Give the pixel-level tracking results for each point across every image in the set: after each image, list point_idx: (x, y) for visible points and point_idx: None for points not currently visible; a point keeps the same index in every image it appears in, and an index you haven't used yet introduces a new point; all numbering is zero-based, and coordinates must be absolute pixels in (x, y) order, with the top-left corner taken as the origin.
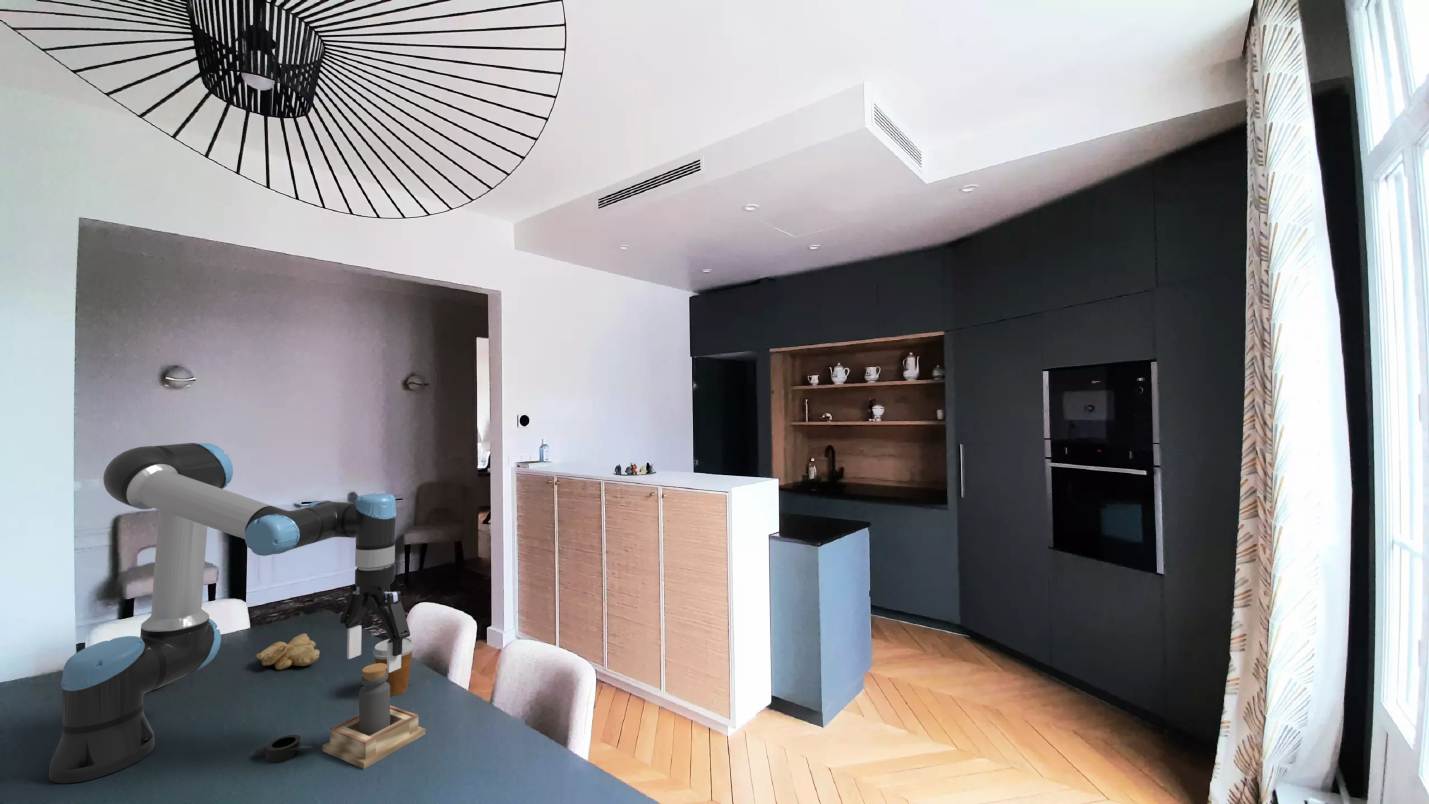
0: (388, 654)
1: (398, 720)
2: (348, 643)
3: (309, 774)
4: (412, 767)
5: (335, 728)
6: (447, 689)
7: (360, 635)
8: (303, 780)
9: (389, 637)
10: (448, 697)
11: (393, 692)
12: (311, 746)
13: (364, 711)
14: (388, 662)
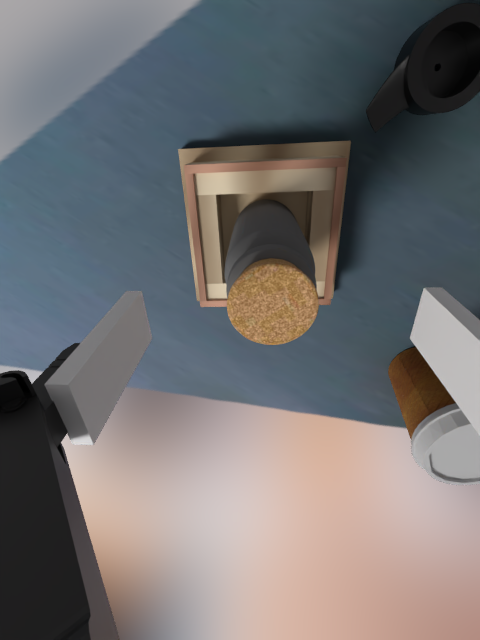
0: (95, 334)
1: None
2: (476, 328)
3: (277, 55)
4: (103, 209)
5: (332, 166)
6: (310, 406)
7: (458, 400)
8: (265, 27)
9: (41, 409)
10: (282, 390)
11: (399, 359)
12: (374, 120)
13: (255, 217)
14: (113, 312)
